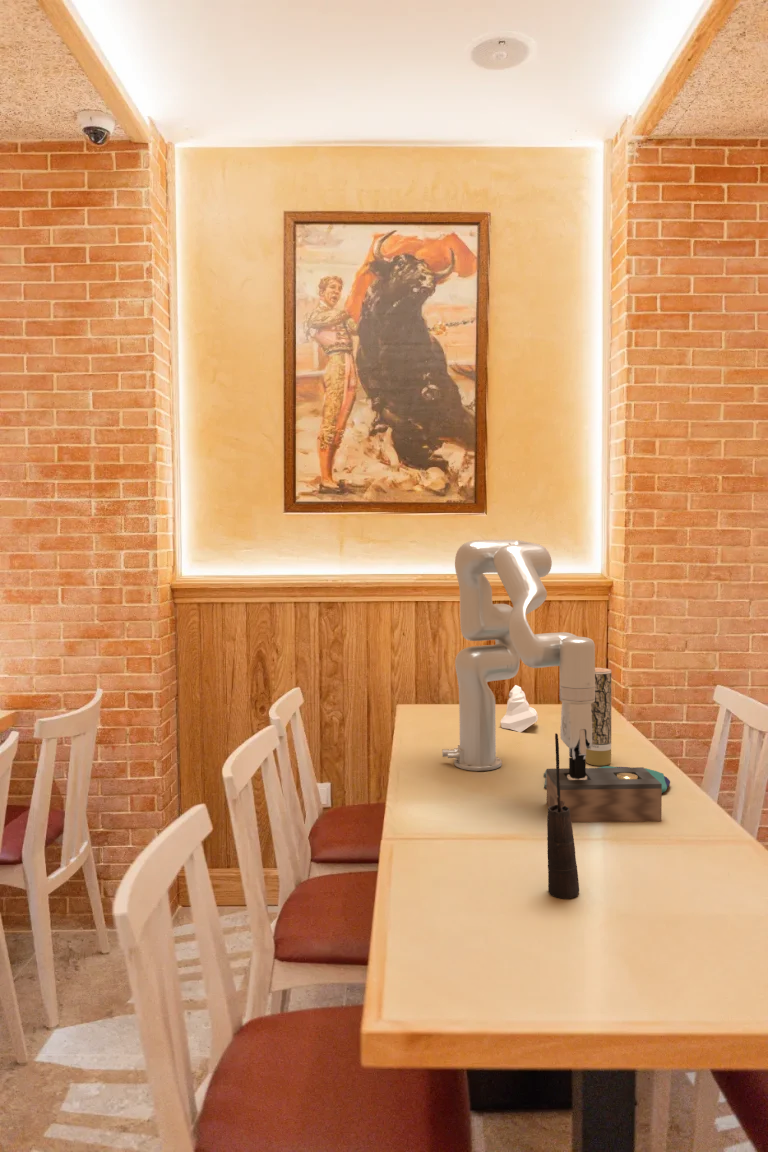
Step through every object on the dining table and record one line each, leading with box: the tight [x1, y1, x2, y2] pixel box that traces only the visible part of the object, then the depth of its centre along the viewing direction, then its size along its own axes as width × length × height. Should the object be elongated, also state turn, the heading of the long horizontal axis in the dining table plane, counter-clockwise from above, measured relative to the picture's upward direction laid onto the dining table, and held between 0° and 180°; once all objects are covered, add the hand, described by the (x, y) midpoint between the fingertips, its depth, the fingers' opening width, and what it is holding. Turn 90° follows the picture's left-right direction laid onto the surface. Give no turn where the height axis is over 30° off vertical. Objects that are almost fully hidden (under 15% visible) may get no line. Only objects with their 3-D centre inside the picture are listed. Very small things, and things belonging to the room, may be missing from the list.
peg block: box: [546, 766, 663, 823], centre depth 177 cm, size 22×12×8 cm, turn 90°
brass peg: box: [617, 773, 638, 779], centre depth 177 cm, size 4×4×7 cm
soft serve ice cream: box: [500, 684, 539, 733], centre depth 254 cm, size 12×15×14 cm
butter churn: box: [546, 732, 580, 900], centre depth 138 cm, size 9×10×28 cm
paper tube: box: [585, 667, 612, 767], centre depth 213 cm, size 7×7×25 cm
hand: (577, 776), depth 177 cm, fingers closed
